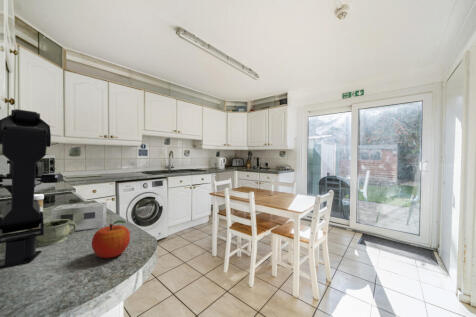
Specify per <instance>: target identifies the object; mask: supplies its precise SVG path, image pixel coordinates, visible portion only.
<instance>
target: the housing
mask: <svg viewBox="0 0 476 317" xmlns="http://www.w3.org/2000/svg"><path fill="white" fill-rule="evenodd" d="M58 219H69V220H70V222H74V223H75V224H76V229H75V231H74V232H78V231H86V230H92V229H93V230H94V229H101V228H104V227H105V224H106V223H107V201H104V202H103V201H102V202H89V203H77V204H75V203H72V204H61V205H58V206H57V207H54V208H52V209H51V220H58ZM70 229H71V230H73V229H74V225H70Z"/></svg>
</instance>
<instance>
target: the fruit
mask: <svg viewBox="0 0 476 317" xmlns="http://www.w3.org/2000/svg"><path fill="white" fill-rule="evenodd" d="M118 223H120V224H126V222H125V220H121V219H120V220H119V219H118V220H116V221H114V222H113V223H109V226H103V228H98V230H97V231H96V232H95V233H94V235H93V237H92V239H91V248H92V250H93V253H94V254H95V256H98V257H99V258H101V259H112V258H115V257H117V256H120V255H121V254H122V253H124V252H125V250H126V249H127V247H128V246H129V243H130V240H131V234H130V230H129V229H128V227H126V226H125V225H119V224H118ZM115 224H118V225H115Z"/></svg>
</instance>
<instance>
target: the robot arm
mask: <svg viewBox="0 0 476 317" xmlns="http://www.w3.org/2000/svg"><path fill="white" fill-rule="evenodd" d="M51 137H52V134H51V126H50V125H49V123H47V122H45V121H44V120H43V119H42V118H41V113H38V112H37V111H32V110H27V109H26V110H25V109H18V108H16V109H11V114H9V115H8V116H5V117H3V118H0V145H1V154H2V155H3V156H4V158H6V159H7V160H6V164H7V165H8V164H9V166H8V173H6V174H5V175H6V176H5V175H4V174H3V173H1V174H0V183H2V185H0V188H5V189H6V190H7V191H8V192H9V193H10V195H11V201H9V202H6V203H5V204H4V207H3V209H2V216H0V244H4V257H3V260H2V261H1V262H0V268H5V267H9V266H16V265H22V264H29V263H31V262H32V261H34V259H36V258H37V257H38V256H39V255H40V254H41V253H42V250H37V240H36V236H40V235H41V236H42V235H43V233H44V223H43V222H44V210H43V211H42V212H40V205H39V204H38V201H37V200H34V194H35V188H36V187H37V186H41V185H42V183H43V184H55V183H61V182H62V183H63V182H64V175H63V174H62V173H45V174H44V172H45V168H43V167H42V166H39V161H41V160H42V159H43V158H44V157H46V155H47V148H50V147H51V141H52V138H51ZM39 225H40V228H38V227H39ZM33 228H36V229H33ZM37 228H38V229H37Z"/></svg>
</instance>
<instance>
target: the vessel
mask: <svg viewBox="0 0 476 317" xmlns="http://www.w3.org/2000/svg"><path fill="white" fill-rule="evenodd" d="M43 223H44V233H43V235H42V236H41V235H40V236H36V241H38V243H37V245H39V246H42V247H43V246H44V247H45V246H51V245H57V244H60V243H62V242H65V241H67V240H69V237H68V235H69V236H73V235H74V232H76V231H75V229H76V224H75V223H74V222H70V220H69V219H58V220H52V219H51V220H47V221H43ZM70 225H74V229H73V230H71V229H70ZM38 228H40V225H39V227H38ZM38 228H36V229H38Z"/></svg>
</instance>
